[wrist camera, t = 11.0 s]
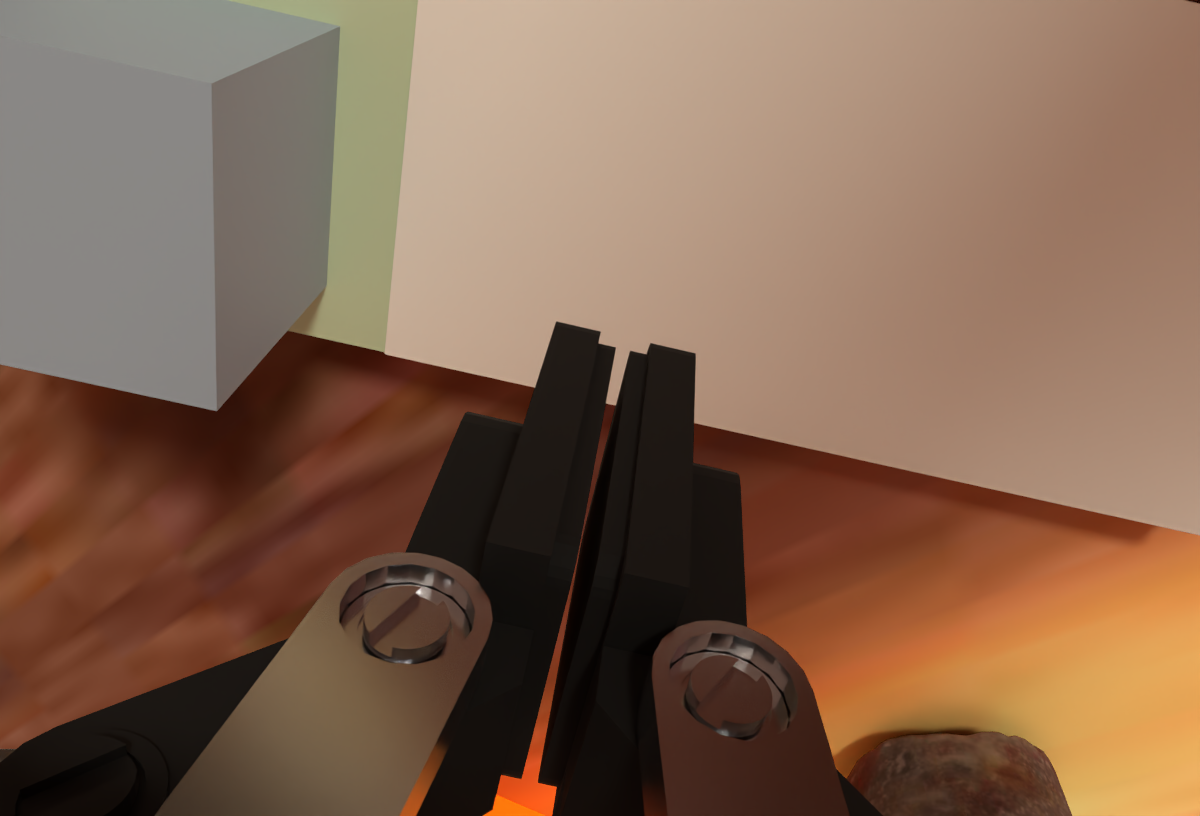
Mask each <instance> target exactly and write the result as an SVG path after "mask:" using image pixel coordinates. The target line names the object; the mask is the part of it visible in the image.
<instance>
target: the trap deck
mask: <svg viewBox="0 0 1200 816" xmlns="http://www.w3.org/2000/svg"><path fill="white" fill-rule="evenodd" d="M228 1H233V2H237V3H242V4H246V5H250V6H255V7H259V8H263V9H268V10H272V11H276V12H281V13H285V14H289V15H294V16H298V17H302V18H307V19H311V20H315V21H320V22H324V23H328V24H333V25H337V26H340V40H339V60H338V79H337V98H336V117H335V136H334V155H333V175H332V194H331V213H330V232H329V251H328V270H327V286H326V287H325V288H324V289H323V291H322V292H321V293H320V294H319V295H318V296H317V297H316V299H315V300H314V301H313V302H312V303H311V304H310V305H309V307H308V308H307V309H306V310H305V311H304V312H303V313H302V315H301V316H300V317H299V318H298V319H297V320H296V321H295V323H294V324H293V325H292V326H291V327H290V328H289V329H288V331H291V332H296V333H300V334H305V335H309V336H314V337H318V338H323V339H327V340H332V341H336V342H341V343H345V344H350V345H354V346H359V347H363V348H368V349H372V350H377V351H381V352H385V354H386V355H390V356H395V357H399V358H404V359H408V360H413V361H417V362H422V363H426V364H431V365H435V366H440V367H444V368H449V369H453V370H458V371H462V372H467V373H471V374H476V375H480V376H485V377H489V378H494V379H498V380H503V381H507V382H512V383H516V384H521V385H525V386H530V387H534V388H535V386H536V383H537V380H538V377H539V373H540V370H541V367H542V364H543V361H544V358H545V355H546V351H547V348H548V345H549V342H550V339H551V336H552V333H553V329H554V326H555V323H556V321H557V322H562V323H566V324H570V325H575V326H579V327H583V328H588V329H592V330H596V331H601V333H600V338H599V344H603V345H608V346H612V347H616V351H615V356H614V361H613V367H612V372H611V378H610V383H609V388H608V394H607V399H606V404H611V405H615V406H616V403H617V399H618V395H619V391H620V387H621V383H622V379H623V375H624V371H625V368H626V364H627V360H628V356H629V353H630V351H634V352H638V353H643V354H647V351H648V348H649V345H650V343H653V344H657V345H662V346H666V347H670V348H675V349H679V350H683V351H688V352H692V353H696V371H695V406H694V423H696V424H701V425H705V426H710V427H714V428H719V429H723V430H728V431H732V432H737V433H741V434H746V435H750V436H755V437H759V438H764V439H768V440H773V441H777V442H782V443H786V444H791V445H795V446H800V447H804V448H809V449H813V450H818V451H822V452H827V453H831V454H836V455H840V456H845V457H849V458H854V459H858V460H863V461H867V462H872V463H876V464H881V465H885V466H890V467H894V468H899V469H903V470H908V471H912V472H917V473H921V474H926V475H930V476H935V477H939V478H944V479H948V480H953V481H957V482H962V483H966V484H971V485H975V486H980V487H984V488H989V489H993V490H998V491H1002V492H1007V493H1011V494H1016V495H1020V496H1025V497H1029V498H1034V499H1038V500H1043V501H1047V502H1052V503H1056V504H1061V505H1065V506H1070V507H1074V508H1079V509H1083V510H1088V511H1092V512H1097V513H1101V514H1106V515H1110V516H1115V517H1119V518H1124V519H1128V520H1133V521H1137V522H1142V523H1146V524H1151V525H1155V526H1160V527H1164V528H1169V529H1173V530H1178V531H1182V532H1187V533H1191V534H1196V535H1200V3H1196V2H1192V1H1188V0H228Z"/></svg>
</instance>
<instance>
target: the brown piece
mask: <svg viewBox="0 0 1200 816" xmlns="http://www.w3.org/2000/svg"><path fill="white" fill-rule="evenodd" d="M847 780H848V781H849V782H850V783H851V784H852V785H853V786H854V787H855V788H856V789H857V790H858V791H859V792H860V793H861V794H862V795H863V796H864V797H865V798H866V799H867V800H868V801H869V802H870V803H871V804H872V805H873V806H874V807H875V808H876V809H877V810H878V811H879V812H880V813H881V814H882V815H883V816H1072V814H1071V811H1070V809H1069V806H1068V804H1067V801H1066V798H1065V796H1064V793H1063V790H1062V788H1061V785H1060V783H1059V780H1058V777H1057V775H1056V772H1055V770H1054V768H1053V766H1052V764H1051V762H1050V760H1049V759H1048V757H1047V756H1046V754H1045V753H1044V752H1043V751H1042V750H1040V749H1039V748H1037V747H1035V746H1033V745H1032V744H1031V743H1029V742H1028V741H1027V740H1025V739H1023V738H1020V737H1018V736H1009V737H1008V736H1006V735H1004V734H1001V733H999V732H979V733H976V734H972V735H967V736H964V735H955V734H942V733H941V732H940V733H934V734H928V735H905V736H901V737H896V738H892V739H888V740H885V741H884V742H882V743H881V744H879V745H878V746H877V747H876V748H875V749H874V750H871V751H869V752H868V753H866V754H865V755H864V756H863V757H861V758H860V759H859V760H858V761H857V763H856V765H855V766H854V768H853V770H852V771H851V773H850V775H849V776H848V778H847Z"/></svg>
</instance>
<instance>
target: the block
mask: <svg viewBox="0 0 1200 816" xmlns="http://www.w3.org/2000/svg"><path fill="white" fill-rule="evenodd" d="M339 40H340V26H337V25H333V24H328V23H324V22H320V21H315V20H311V19H307V18H302V17H298V16H294V15H289V14H285V13H281V12H276V11H272V10H268V9H263V8H259V7H255V6H250V5H246V4H242V3H237V2H233V1H228V0H0V364H1V365H6V366H11V367H15V368H20V369H25V370H29V371H34V372H38V373H43V374H48V375H52V376H57V377H61V378H66V379H71V380H75V381H80V382H85V383H89V384H94V385H98V386H103V387H108V388H112V389H117V390H121V391H126V392H131V393H135V394H140V395H145V396H149V397H154V398H158V399H163V400H168V401H172V402H177V403H181V404H186V405H191V406H195V407H200V408H204V409H209V410H214V411H218V409H219V408H220V407H221V406H222V405H223V404H224V403H225V401H226V400H227V399H228V398H229V397H230V396H231V395H232V393H233V392H234V391H235V390H236V389H237V388H238V387H239V385H240V384H241V383H242V382H243V381H244V380H245V379H246V377H247V376H248V375H249V374H250V373H251V372H252V371H253V369H254V368H255V367H256V366H257V365H258V364H259V363H260V361H261V360H262V359H263V358H264V357H265V356H266V355H267V353H268V352H269V351H270V350H271V349H272V348H273V347H274V345H275V344H276V343H277V342H278V341H279V340H280V339H281V337H282V336H283V335H284V334H285V333H286V332H287V331H288V329H289V328H290V327H291V326H292V325H293V324H294V323H295V321H296V320H297V319H298V318H299V317H300V316H301V315H302V313H303V312H304V311H305V310H306V309H307V308H308V307H309V305H310V304H311V303H312V302H313V301H314V300H315V299H316V297H317V296H318V295H319V294H320V293H321V292H322V291H323V289H324V288H325V287H326V286H327V270H328V251H329V232H330V213H331V194H332V175H333V155H334V136H335V117H336V98H337V79H338V60H339Z"/></svg>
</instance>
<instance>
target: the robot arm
mask: <svg viewBox="0 0 1200 816" xmlns="http://www.w3.org/2000/svg"><path fill="white" fill-rule="evenodd" d="M600 333H601V331H596V330H592V329H588V328H583V327H579V326H575V325H570V324H566V323H562V322H557V321H556V323H555V326H554V329H553V333H552V336H551V339H550V342H549V345H548V348H547V351H546V355H545V358H544V361H543V364H542V367H541V370H540V373H539V377H538V380H537V383H536V386H535V389H534V392H533V395H532V399H531V402H530V405H529V408H528V411H527V414H526V417H525V421H524V424H520V423H515V422H511V421H507V420H502V419H498V418H493V417H489V416H485V415H480V414H476V413H471V412H467V413H465V415H464V417H463V419H462V421H461V423H460V425H459V428H458V430H457V432H456V435H455V437H454V439H453V442H452V444H451V446H450V449H449V451H448V453H447V456H446V458H445V460H444V463H443V465H442V468H441V470H440V472H439V475H438V477H437V479H436V482H435V484H434V486H433V489H432V491H431V493H430V496H429V498H428V500H427V503H426V505H425V507H424V510H423V512H422V514H421V517H420V519H419V522H418V524H417V526H416V529H415V531H414V533H413V536H412V538H411V540H410V543H409V545H408V547H407V550H406V552H405V553H388V554H384V555H379V556H375V557H370V558H367V559H365V560H363V561H361V562H359V563H357V564H355V565H353V566H351V567H349V568H347V569H346V570H344V571H343V572H342V573H341V574H340V575H339V576H338V577H337V578H336V579H335V580H334V581H333V582H332V583H331V584H330V585H329V586H328V587H327V589H326V590H325V591H324V593H323V594H322V595H321V597H320V598H319V599H318V601H317V602H316V603H315V604H314V606H313V607H312V608H311V610H310V611H309V612H308V614H307V615H306V616H305V618H304V619H303V620H302V622H301V623H300V624H299V626H298V627H297V628H296V630H295V631H294V632H293V633H292V635H291V636H290V637H289V638H288V639H286V640H283V641H281V642H278V643H275V644H273V645H270V646H267V647H265V648H262V649H260V650H257V651H254V652H252V653H249V654H246V655H244V656H241V657H238V658H236V659H233V660H231V661H228V662H225V663H223V664H220V665H217V666H215V667H212V668H210V669H207V670H204V671H202V672H199V673H196V674H194V675H191V676H189V677H186V678H183V679H181V680H178V681H175V682H173V683H170V684H168V685H165V686H162V687H160V688H157V689H154V690H152V691H149V692H147V693H144V694H141V695H139V696H136V697H133V698H131V699H128V700H126V701H123V702H120V703H118V704H115V705H112V706H110V707H107V708H105V709H102V710H99V711H97V712H94V713H91V714H89V715H86V716H84V717H81V718H78V719H76V720H73V721H70V722H68V723H65V724H63V725H60V726H57V727H55V728H53V729H51V730H49V731H47V732H45V733H43V734H41V735H39V736H37V737H35V738H33V739H31V740H29V741H27V742H25V743H23V744H22V745H21V746H20V747H18V748H17V749H0V816H483V815H485V814H487V813H488V812H490V811H492V810H493V806H494V802H495V798H496V794H497V789H498V785H499V781H500V776H501V775H505V776H510V777H514V778H519V779H521V778H522V775H523V771H524V767H525V763H526V759H527V755H528V751H529V747H530V743H531V739H532V735H533V731H534V727H535V724H536V720H537V716H538V712H539V708H540V704H541V700H542V696H543V692H544V688H545V684H546V680H547V676H548V672H549V668H550V664H551V661H552V657H553V653H554V649H555V645H556V641H557V637H558V633H559V629H560V625H561V621H562V617H563V613H564V609H565V605H566V602H567V598H568V594H569V590H570V586H571V581H572V577H573V573H574V568H575V564H576V559H577V555H578V550H579V545H580V540H581V535H582V529H583V524H584V518H585V513H586V508H587V502H588V497H589V491H590V486H591V480H592V475H593V470H594V464H595V459H596V453H597V448H598V443H599V437H600V432H601V426H602V421H603V416H604V410H605V405H606V399H607V394H608V388H609V383H610V378H611V372H612V367H613V361H614V356H615V351H616V347H612V346H608V345H603V344H599V338H600ZM695 371H696V353H692V352H688V351H683V350H679V349H675V348H670V347H666V346H662V345H657V344H653V343H650V345H649V348H648V351H647V354H643V353H638V352H634V351H630V353H629V356H628V360H627V364H626V368H625V371H624V375H623V379H622V383H621V387H620V391H619V395H618V399H617V403H616V407H615V411H614V415H613V419H612V423H611V427H610V431H609V435H608V438H607V442H606V446H605V450H604V454H603V458H602V462H601V466H600V470H599V474H598V478H597V482H596V486H595V490H594V494H593V498H592V502H591V505H590V509H589V513H588V517H587V521H586V525H585V530H584V534H583V538H582V543H581V548H580V553H579V558H578V564H577V569H576V575H575V580H574V586H573V591H572V597H571V602H570V608H569V613H568V619H567V624H566V630H565V635H564V640H563V646H562V651H561V657H560V662H559V668H558V673H557V679H556V684H555V690H554V695H553V701H552V706H551V712H550V717H549V723H548V728H547V733H546V739H545V744H544V750H543V755H542V761H541V766H540V772H539V778H538V783H542V784H546V785H551V786H556V787H557V790H556V796H555V802H554V809H553V815H552V816H883V815H882V814H881V813H880V812H879V811H878V810H877V809H876V808H875V807H874V806H873V805H872V804H871V803H870V802H869V801H868V800H867V799H866V798H865V797H864V796H863V795H862V794H861V793H860V792H859V791H858V790H857V789H856V788H855V787H854V786H853V785H852V784H851V783H850V782H849V781H848V780H847V779H846V778H845V777H844V776H843V775H842V774H841V773H840V772H839V771H838V770H837V769H836V767H835V764H834V760H833V757H832V754H831V750H830V747H829V743H828V740H827V736H826V733H825V730H824V726H823V723H822V719H821V716H820V713H819V709H818V706H817V702H816V699H815V696H814V692H813V690H812V688H811V686H810V683H809V681H808V679H807V677H806V675H805V673H804V671H803V670H802V668H801V667H800V666H799V665H798V664H797V662H796V661H795V660H794V659H793V658H792V657H791V655H790V654H789V653H788V652H787V651H786V650H784V649H783V648H782V647H780V646H779V645H778V644H776V643H775V642H774V641H772V640H771V639H770V638H768V637H767V636H765V635H763V634H760V633H758V632H756V631H754V630H752V629H750V628H748V627H747V616H746V594H745V572H744V551H743V529H742V507H741V486H740V478H739V475H738V474H737V473H735V472H731V471H726V470H722V469H717V468H713V467H709V466H704V465H700V464H695V463H693V442H694V406H695Z"/></svg>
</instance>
